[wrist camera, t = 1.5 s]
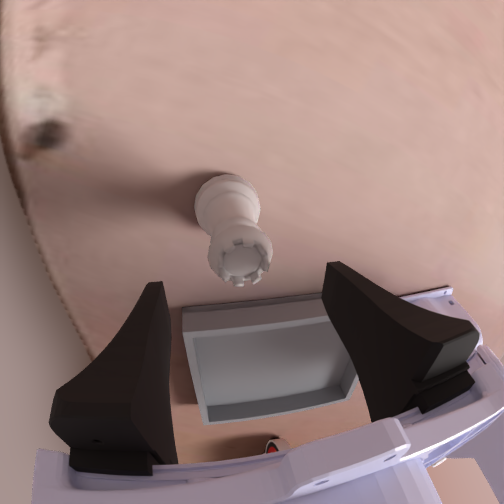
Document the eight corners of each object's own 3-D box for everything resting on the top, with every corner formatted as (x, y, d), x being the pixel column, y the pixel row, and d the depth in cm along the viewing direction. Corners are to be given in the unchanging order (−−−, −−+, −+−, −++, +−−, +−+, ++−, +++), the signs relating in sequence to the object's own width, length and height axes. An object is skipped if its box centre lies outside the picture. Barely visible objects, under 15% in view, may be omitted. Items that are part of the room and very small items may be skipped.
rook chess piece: (243, 238, 23) (266, 309, 16) (185, 221, 21) (184, 291, 15) (267, 184, 21) (305, 238, 14) (206, 163, 20) (215, 209, 13)
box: (374, 285, 28) (389, 304, 26) (341, 382, 36) (349, 399, 34) (182, 307, 25) (182, 332, 23) (201, 404, 33) (203, 425, 31)
